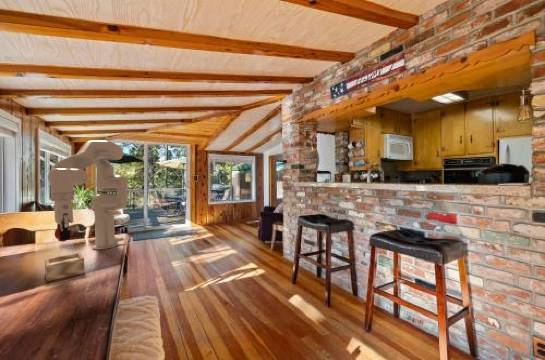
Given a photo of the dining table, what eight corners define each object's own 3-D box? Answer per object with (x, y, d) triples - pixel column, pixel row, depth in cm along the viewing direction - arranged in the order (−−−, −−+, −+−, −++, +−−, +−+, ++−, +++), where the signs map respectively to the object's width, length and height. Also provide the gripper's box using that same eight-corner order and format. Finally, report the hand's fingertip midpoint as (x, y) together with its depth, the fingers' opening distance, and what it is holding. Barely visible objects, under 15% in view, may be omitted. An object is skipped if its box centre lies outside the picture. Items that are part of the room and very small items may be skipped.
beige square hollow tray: (80, 266, 115) (79, 252, 115) (84, 273, 106) (84, 258, 106) (45, 273, 106) (44, 259, 106) (46, 282, 98) (46, 265, 98)
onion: (52, 242, 105) (51, 223, 105) (68, 239, 110) (67, 221, 110) (58, 243, 102) (58, 224, 102) (74, 240, 107) (74, 222, 107)
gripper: (78, 197, 103) (79, 240, 103) (69, 196, 114) (70, 234, 114) (54, 198, 97) (55, 243, 97) (47, 197, 109) (48, 237, 109)
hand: (63, 238), depth 106 cm, fingers closed on onion, 5 cm apart
